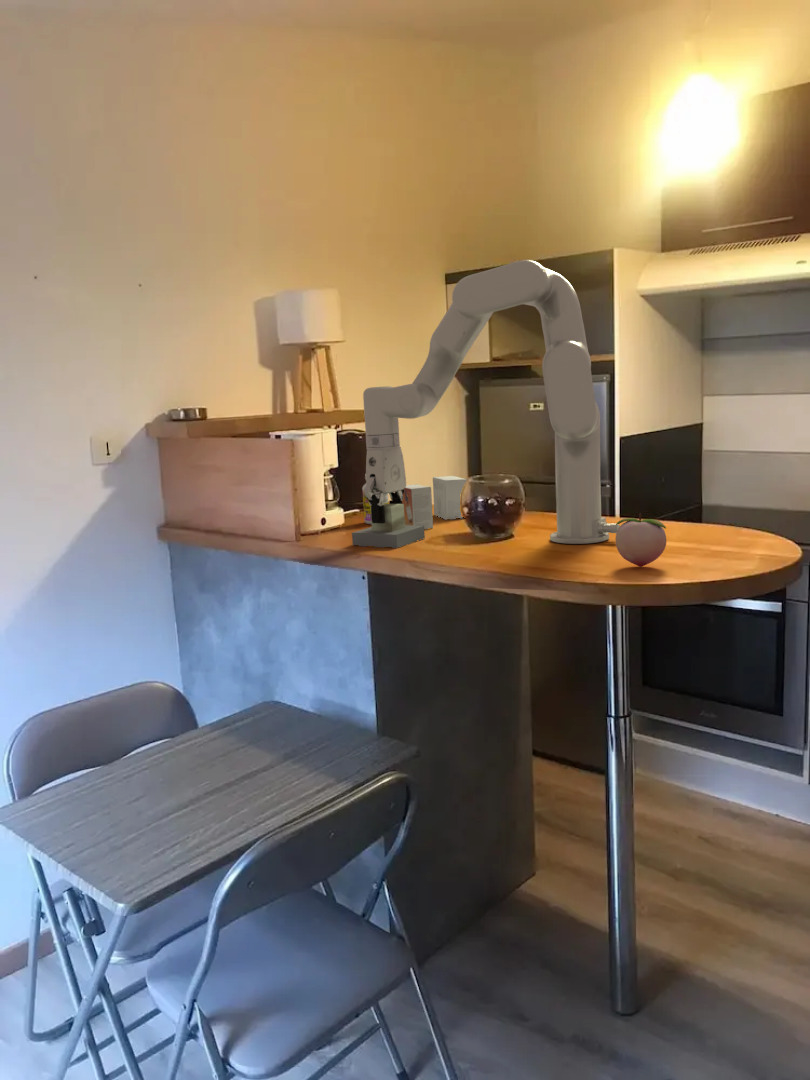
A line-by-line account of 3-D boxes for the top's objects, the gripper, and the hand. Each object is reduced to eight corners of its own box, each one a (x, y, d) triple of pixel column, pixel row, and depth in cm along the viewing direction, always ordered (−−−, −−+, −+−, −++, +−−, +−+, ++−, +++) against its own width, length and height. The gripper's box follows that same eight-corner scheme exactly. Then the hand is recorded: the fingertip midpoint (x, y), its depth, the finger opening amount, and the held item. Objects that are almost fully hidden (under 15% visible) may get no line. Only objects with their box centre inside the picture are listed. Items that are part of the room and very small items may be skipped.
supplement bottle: (362, 522, 243) (359, 473, 240) (386, 519, 244) (383, 471, 242) (367, 525, 236) (364, 476, 234) (392, 523, 238) (389, 474, 235)
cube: (405, 527, 210) (403, 503, 210) (392, 531, 206) (391, 507, 205) (384, 526, 213) (383, 503, 212) (372, 530, 209) (370, 507, 208)
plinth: (424, 538, 212) (424, 525, 211) (397, 548, 202) (396, 534, 201) (381, 536, 218) (380, 524, 218) (352, 545, 208) (351, 532, 208)
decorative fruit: (610, 571, 167) (609, 517, 165) (619, 562, 174) (618, 510, 172) (663, 573, 163) (663, 517, 161) (670, 563, 170) (669, 510, 169)
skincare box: (469, 518, 239) (467, 478, 237) (445, 520, 237) (443, 480, 235) (456, 513, 249) (454, 474, 247) (433, 515, 247) (431, 476, 245)
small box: (399, 527, 231) (397, 485, 229) (419, 524, 233) (417, 483, 231) (413, 531, 223) (410, 488, 222) (433, 528, 226) (431, 486, 224)
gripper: (375, 445, 197) (380, 527, 200) (416, 438, 211) (421, 514, 215) (347, 446, 201) (352, 526, 204) (389, 439, 215) (394, 514, 218)
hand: (387, 519), depth 209 cm, fingers open, 7 cm apart
